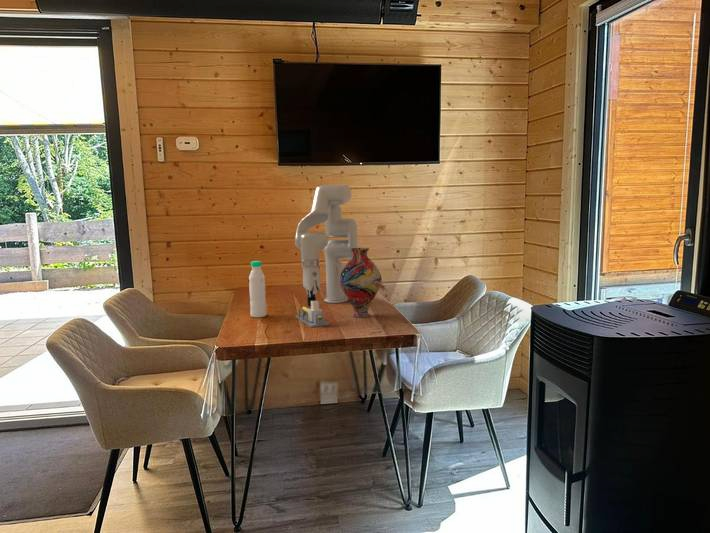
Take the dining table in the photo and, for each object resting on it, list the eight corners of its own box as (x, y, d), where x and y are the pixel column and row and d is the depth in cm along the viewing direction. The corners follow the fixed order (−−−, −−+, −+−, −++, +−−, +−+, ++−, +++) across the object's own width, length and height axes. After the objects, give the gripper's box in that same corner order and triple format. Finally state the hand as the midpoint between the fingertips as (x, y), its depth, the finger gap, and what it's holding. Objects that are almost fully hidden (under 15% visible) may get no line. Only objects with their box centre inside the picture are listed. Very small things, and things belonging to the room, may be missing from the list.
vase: (344, 321, 204) (342, 251, 200) (336, 312, 223) (335, 247, 219) (387, 318, 208) (386, 249, 204) (376, 309, 226) (375, 246, 222)
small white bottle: (308, 319, 204) (307, 300, 203) (318, 318, 206) (318, 299, 204) (311, 321, 200) (311, 302, 199) (322, 320, 202) (321, 301, 201)
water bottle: (269, 315, 219) (267, 260, 216) (259, 318, 213) (256, 262, 210) (257, 313, 223) (255, 260, 219) (247, 316, 217) (244, 261, 213)
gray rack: (295, 317, 214) (295, 305, 213) (312, 315, 217) (312, 304, 216) (311, 327, 196) (310, 314, 195) (329, 325, 199) (329, 312, 199)
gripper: (325, 264, 197) (326, 308, 200) (312, 260, 211) (314, 301, 213) (307, 266, 194) (309, 310, 197) (296, 261, 208) (297, 303, 210)
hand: (311, 305), depth 205 cm, fingers closed
